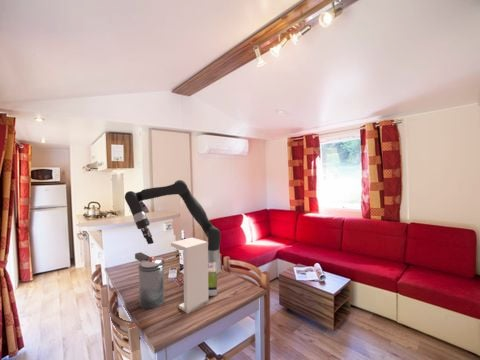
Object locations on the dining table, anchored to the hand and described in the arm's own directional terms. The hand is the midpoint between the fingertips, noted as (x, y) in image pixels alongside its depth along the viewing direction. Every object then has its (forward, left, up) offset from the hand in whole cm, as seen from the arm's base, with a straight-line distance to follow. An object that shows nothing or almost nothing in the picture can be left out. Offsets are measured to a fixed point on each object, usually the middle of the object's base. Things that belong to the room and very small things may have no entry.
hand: (151, 243), depth 143 cm
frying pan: (-17, -43, -29) cm, 54 cm away
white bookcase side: (-17, +28, -29) cm, 44 cm away
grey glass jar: (+2, +17, -29) cm, 33 cm away
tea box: (-31, +19, -29) cm, 47 cm away
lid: (+4, +11, -8) cm, 14 cm away
